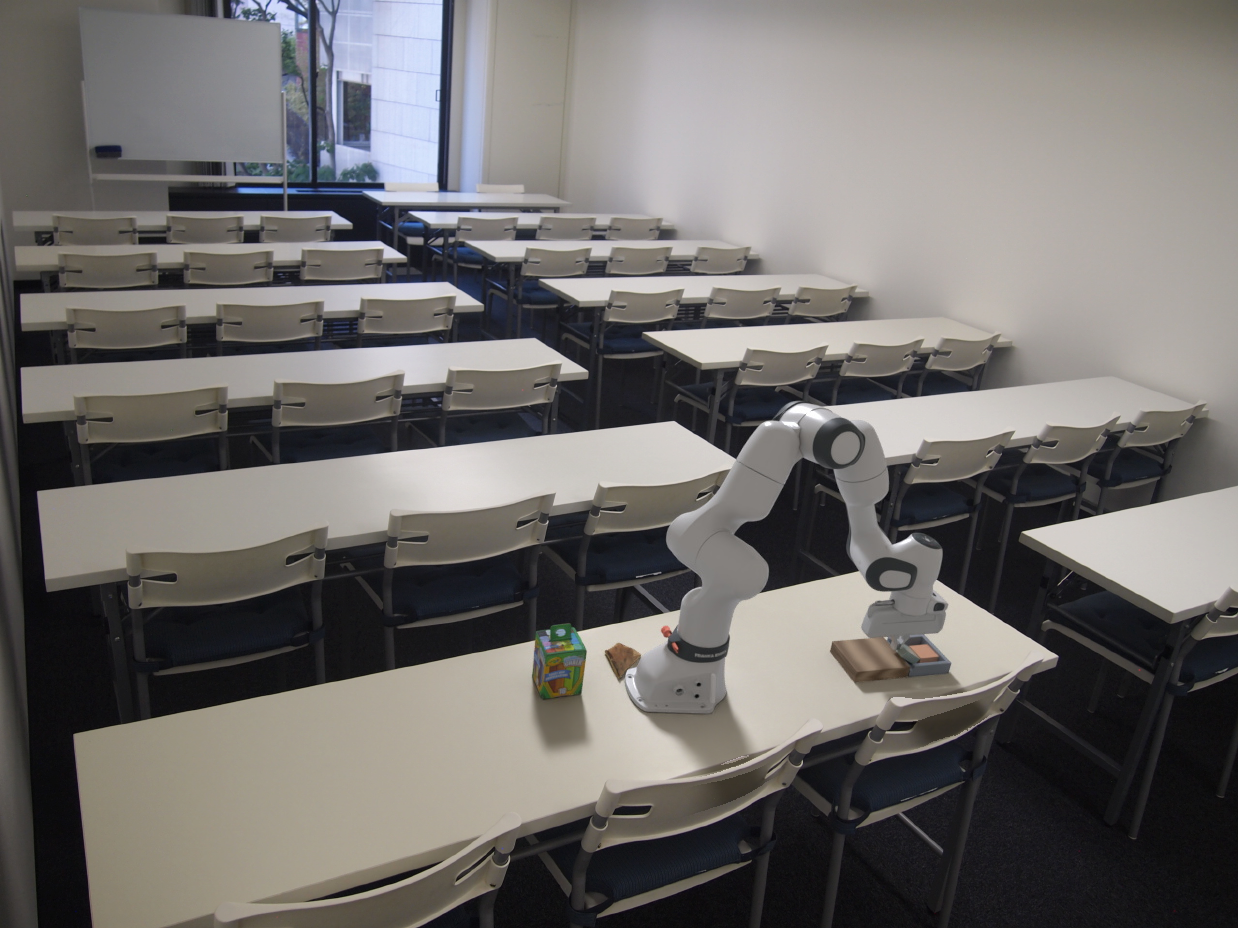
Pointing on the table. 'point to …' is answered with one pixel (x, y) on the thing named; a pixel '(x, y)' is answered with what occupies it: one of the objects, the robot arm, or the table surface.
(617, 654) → the shard
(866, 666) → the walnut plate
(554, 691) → the chalk box
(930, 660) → the terracotta tile
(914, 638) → the tray
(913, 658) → the sage tile
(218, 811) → the table surface
